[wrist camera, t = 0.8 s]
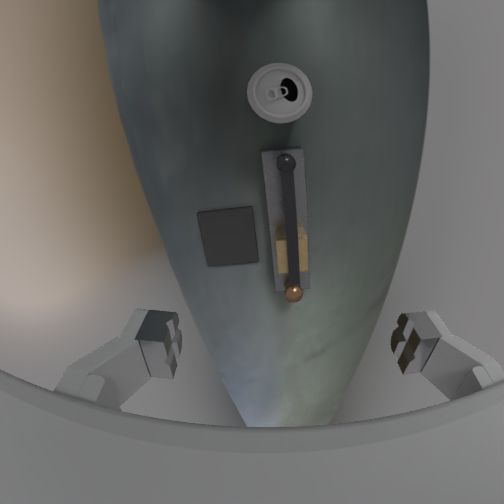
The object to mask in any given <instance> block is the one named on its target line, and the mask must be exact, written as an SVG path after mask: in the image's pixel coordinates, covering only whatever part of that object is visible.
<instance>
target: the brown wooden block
mask: <svg viewBox="0 0 504 504" xmlns="http://www.w3.org/2000/svg"><path fill="white" fill-rule="evenodd" d="M275 240H276V251H277V262H278V271H279V274H280V273H288V260H287V246H286V232H285V229H280V230H275ZM298 247H299V269H300V272H301V271H308V252H307V237H306V234H305V231H304V228H303V227H301V228H298Z"/></svg>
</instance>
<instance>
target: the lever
mask: <svg viewBox="0 0 504 504" xmlns="http://www.w3.org/2000/svg"><path fill="white" fill-rule="evenodd" d="M276 164H277V167H278V169H279V170H280V174H281V185H282V196H283V207H284V219H285V232H286V246H287V260H288V275H289V285H299V284H300V269H299V247H298V228H297V212H296V197H295V184H294V171H293V170H294V169H295V167H296V161H295V159H294V158H293V156H292V155H290V154H287V153H284V154H281V155H280V156H278V158H277V160H276Z"/></svg>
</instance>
